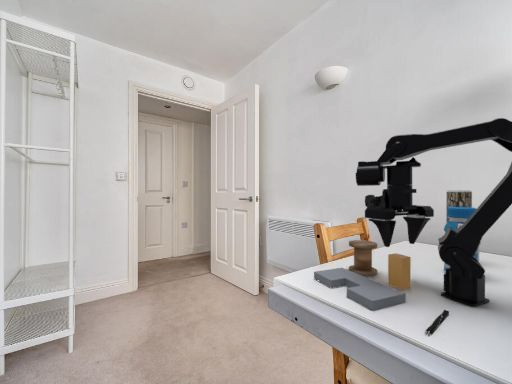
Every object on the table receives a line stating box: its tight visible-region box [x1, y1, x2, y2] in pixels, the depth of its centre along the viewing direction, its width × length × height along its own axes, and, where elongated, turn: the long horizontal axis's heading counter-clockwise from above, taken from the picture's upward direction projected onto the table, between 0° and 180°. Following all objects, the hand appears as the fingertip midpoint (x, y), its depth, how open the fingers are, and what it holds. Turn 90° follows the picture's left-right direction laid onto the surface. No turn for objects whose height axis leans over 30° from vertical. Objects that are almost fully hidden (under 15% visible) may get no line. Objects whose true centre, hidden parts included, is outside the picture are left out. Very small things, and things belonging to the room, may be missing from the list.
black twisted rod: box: [424, 309, 450, 337], centre depth 46 cm, size 12×1×1 cm, turn 130°
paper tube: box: [445, 190, 473, 223], centre depth 85 cm, size 7×7×25 cm
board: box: [313, 267, 407, 312], centre depth 62 cm, size 20×10×2 cm, turn 23°
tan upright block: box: [387, 253, 412, 291], centre depth 64 cm, size 4×3×8 cm
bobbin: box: [348, 239, 378, 278], centre depth 75 cm, size 8×8×9 cm
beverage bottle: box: [443, 206, 482, 274], centre depth 73 cm, size 8×8×20 cm
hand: (399, 245), depth 64 cm, fingers open, 9 cm apart
